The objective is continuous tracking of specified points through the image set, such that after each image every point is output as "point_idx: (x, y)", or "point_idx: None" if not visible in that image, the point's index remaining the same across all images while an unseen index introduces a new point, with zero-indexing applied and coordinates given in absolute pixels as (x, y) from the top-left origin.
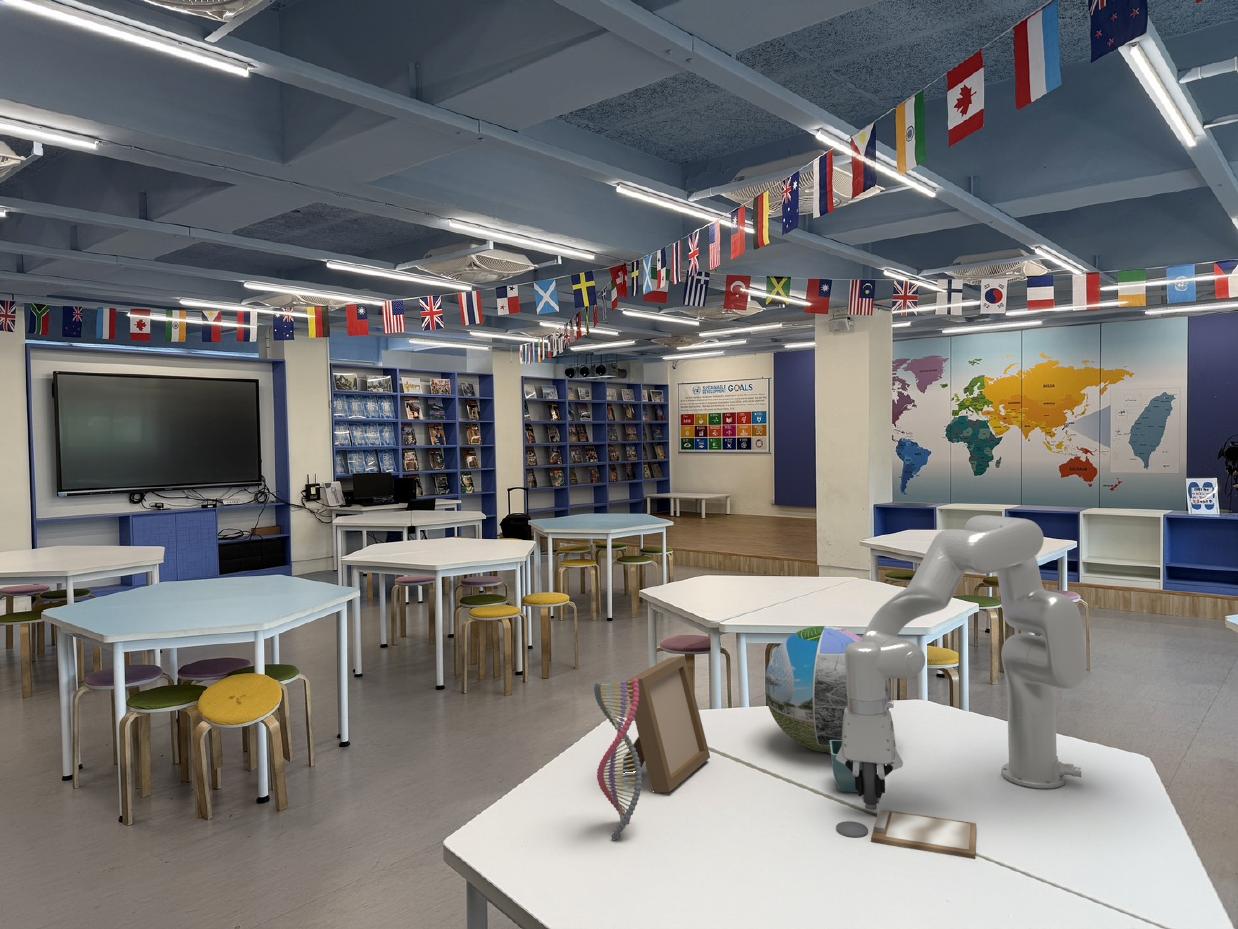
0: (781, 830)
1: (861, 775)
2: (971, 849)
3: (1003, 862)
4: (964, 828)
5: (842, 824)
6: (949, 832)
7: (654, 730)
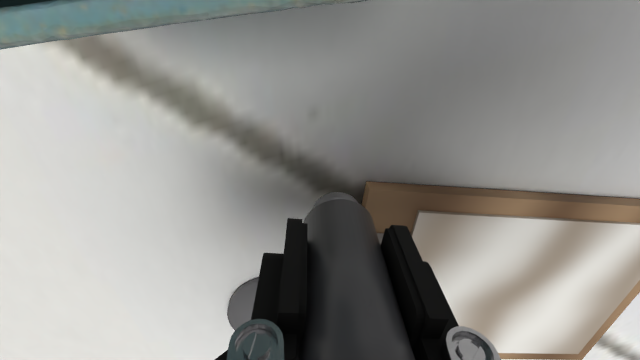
0: (82, 352)
1: (296, 355)
2: (585, 345)
3: (631, 345)
4: (638, 262)
5: (244, 304)
6: (572, 294)
7: None
